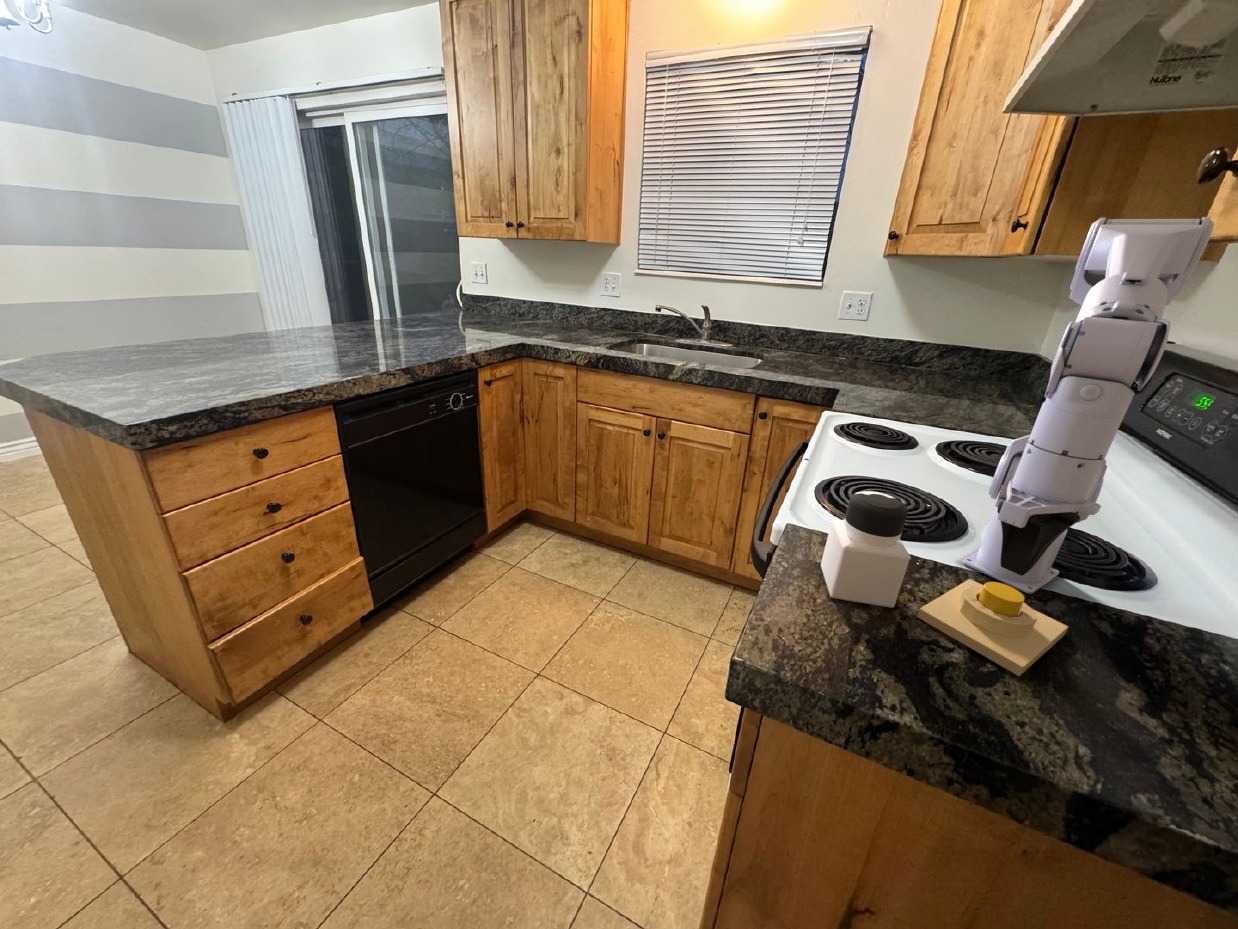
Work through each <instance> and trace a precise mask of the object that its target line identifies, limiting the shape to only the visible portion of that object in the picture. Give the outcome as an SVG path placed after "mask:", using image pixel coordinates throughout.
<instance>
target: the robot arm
mask: <svg viewBox="0 0 1238 929" xmlns="http://www.w3.org/2000/svg"><path fill="white" fill-rule="evenodd" d="M1214 227H1215V222H1213V220H1212V218H1211V217H1210V216H1202V217H1201V218H1108V219H1107V217H1099V218H1098V219H1097V220H1096V221H1094V222H1093V223H1092V224H1091V226H1090V228H1089V230H1088V233H1087V234H1086V235H1087V236H1086V238H1085V241H1084V244H1083V246H1082V249H1081V251H1080V254H1079V257H1078V260H1077V262H1076V266H1075V269H1074V270H1075V272H1074V276H1073V279H1072V280H1071V284H1070V285H1069V289H1070V290H1071V291H1070V295H1069V299H1070V300H1072V301H1073V302H1075V303H1077V304H1078V305H1080V306H1081V307H1080V310H1079V312H1078V314H1077V317H1076V319H1075V321H1073V320H1071V321H1070V322H1069V323H1068V325H1067V326H1066V328H1065V331H1064V333H1063V336H1062V338H1061V340H1060V343H1059V345H1058V348H1057V351H1056V354H1055V356H1054V359H1053V361H1052V363H1051V367H1050V375H1049V380H1048V384H1047V387H1046V390H1045V393H1044V396H1043V397H1045V401H1043V402H1042V404H1041V407H1040V409H1039V411H1038V415H1037V417H1036V420H1035V422H1034V425H1033V427H1032V429H1031V433H1030V434H1028V435H1024V436H1022V437H1018V438H1015V439H1013V440H1012V441H1011V443H1008V444H1007V446H1006V449H1005V451H1004V454H1002V456H1001V458H1000V460H999V462H998V465H997V466H996V470H995V472H994V475H993V477H992V480H991V483H990V486H989V488H988V492H987V493H988V494H989V496H990V498H991V499H992V500H996V501H995V504H994V506H995V508H994V510H993V513H992V515H991V518H990V520H989V524H988V526H987V528H986V531H985V534H984V536H983V538H982V541H981V544H980V545H979V549H978V551H977V552H974V553H973V554H971V555H969V556H967V557H965V558H964V559H962V564H964V565H965V566H967V567H969V568H972V569H973V570H976V571H978V572H980V573H981V574H984V575H987V576H988V577H991V578H993V579H995V580H998V581H1000V583H1003V584H1005V585H1008V586H1010V587H1012V588H1014V589H1016V590H1018V591H1021V592H1023V593H1025V594H1027V595H1032V594H1034V593H1036V592H1037V591H1038V590H1039V589H1041V588H1042V587H1044V586H1045V585H1046V584H1048V583H1049V582H1050V581H1052V580H1053V579H1055V578H1056V577H1058V575H1060V570H1058V569H1056V568H1053V564H1054V561H1055V559H1056V557H1057V555H1058V554H1059V551H1060V549H1061V547H1062V544H1063V542H1064V540H1065V538H1066V536H1067V533H1068V529H1070V528H1071V527H1072V526H1074V525H1075V524H1077V523H1080V522H1083V521H1085V520H1087V519H1088V518H1089V517H1090V516H1095V515H1096V514H1098V513H1099V512H1100V510H1101V508H1102V505H1101V504H1100V503H1097V500H1098V498H1099V496H1100V494H1101V491H1102V488H1103V484H1104V477H1105V474H1106V471H1107V469H1108V465H1107V460H1106V457H1107V455H1108V452H1109V450H1110V448H1111V446H1112V443H1113V441H1114V439H1115V437H1116V434H1117V433H1118V430H1119V428H1120V426H1121V424H1122V422H1123V420H1124V418H1125V415H1126V413H1127V411H1128V408H1129V407H1130V404H1131V402H1132V400H1133V398H1134V396H1135V394H1136V392H1135V391H1134V390H1133V389H1132V385H1133V384H1134V382H1135V383H1136V384H1137V388H1136V389H1137V391H1141V390H1142V389H1143V388H1144V386H1145V385H1146V384H1147V383H1148V381H1149V380H1150V379H1151V378H1152V376H1153V374H1154V373H1155V371H1156V369H1157V367H1158V365H1159V363H1160V361H1161V358H1162V357H1163V354H1164V352H1165V349H1166V346H1167V344H1168V340H1169V335H1170V327H1171V321H1170V320H1168V319H1166V318H1163V316H1164V312H1165V308H1166V307H1167V306H1170V304H1171V303H1172V301H1173V300H1174V297H1177V296H1178V295H1179V294H1180V293H1181V290H1182V289H1183V288H1184V285H1185V283H1186V282H1187V280H1188V279H1189V277H1190V275H1192V273H1193V272H1194V270H1195V269H1196V267H1197V265H1198V264H1199V261H1200V260H1201V258H1202V256H1203V254H1204V252H1205V250H1206V247H1207V245H1208V244H1209V241H1210V238H1211V235H1212V233H1213V231H1214ZM1073 323H1074V324H1073Z"/></svg>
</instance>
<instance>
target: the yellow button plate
mask: <svg viewBox="0 0 1238 929" xmlns="http://www.w3.org/2000/svg"><path fill="white" fill-rule="evenodd" d="M983 587H984V584H981V583H979V582H977V581H976V580H973V579H971V578H969V579H967V580H966V581H963V582H962V583H960V584H959V585H957V586H956V587H953V588H952V589H950V590H948V591H947V592H945V593H944V594H942V595H939V597H937V598H935V599H933V600H931V601H930V602H928V603H927V604H925V605H923V606H922V607H920V608H918V613H917V615H916V618H917V619H920V620H922V621H923V622H924V623H926V624H928V625H930V626H931V627H933V628H935V629H937V630H939V631H940V632H942V633H944V634H946V635H948V636H949V637H950V638H952V639H953V640H956V641H958V642H959V643H961V644H963V645H964V646H966V647H968V648H969V649H970V650H973V651H975V652H976V653H978V654H979V655H982V656H983V657H985V658H986V659H989V660H990V661H992V662H994V663H995V664H997V665H999V666H1001V667H1002V668H1004V669H1006V670H1007V671H1009V672H1011V673H1012V674H1015V676H1018V677H1020V676H1021V675H1023V673H1025V672H1026V671H1027V670H1028V669H1029V668H1031V666H1032V665H1033V664H1035V663H1036V662H1037V661H1038V660H1039V659H1040V658H1041V657H1042V656H1044V655H1045V654H1046V653H1047V652H1048V651H1049V650H1050V649H1051V648H1053V647H1054V645H1056V643H1058V641H1060V640H1061V639H1062V638H1063V637H1064V636H1065V635H1066V634H1067V631H1068V630H1069V626H1068V625H1066V624H1064V623H1062V622H1061V621H1058V620H1056V619H1054V618H1052V617H1049V616H1048V615H1046V614H1044V613H1042V612H1040V611H1038V610H1035V609H1034V608H1032V607H1030V606H1029V605H1028V604H1027V603H1026V602H1025V601H1024V602H1023V605H1022V607H1021V609H1020V611H1019V614H1018V615H1017V616H1016V617H1008V616H1005V615H1001V614H998V613H995V612H993V611H991V610H989V609H987V608H985V607H984V606H983V605H982V604H981V603H979V600H978V599H979V597H980V594H981V592H982V589H983Z"/></svg>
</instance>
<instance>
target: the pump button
mask: <svg viewBox="0 0 1238 929" xmlns="http://www.w3.org/2000/svg"><path fill="white" fill-rule="evenodd" d="M983 585H984V587H983V589H982V592H981V594H980V597H979V599H978V600H979V603H981V604H982V605H983V606H984V607H985V608H987V609H989V610H991V611H993V612H995V613H998V614H1001V615H1005V616H1008V617H1016V616H1017V615H1018V614H1019V611H1020V609H1021V607H1022V605H1023V602H1024V603H1025V598H1026V597H1025V596H1024V594H1023V593H1021V592H1020V590H1019V589H1016V588H1014V587H1012V586H1010V585H1008V584H1006V583H1003V582H997V581H988V582H987V581H986V582H985V583H984V584H983Z"/></svg>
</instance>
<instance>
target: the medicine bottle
mask: <svg viewBox="0 0 1238 929" xmlns="http://www.w3.org/2000/svg"><path fill="white" fill-rule="evenodd" d="M908 514H909V509H908V508H907V506H906V505H905V503H904V502H902V501H900V500H899V499H897V498H896V497H894V496H892V495H890V494H886V493H884V492H879V491H870V490H869V491H868V490H867V491H865V490H864V491H857V492H855V493H853V494H851V495H850V497H849V501H848V504H847V509H846V512H845V516H844V519H840V518H833V519H832V520H831V521H830V527H829V531H828V533H827V534H828V535H827V539H826V543H825V546H824V549H823V554H822V558H821V562H820V568H821V571H822V575H823V578H824V581H825V585H826V587H827V591H828V595H829V597H830V598H831V599H834V600H841V601H847V602H851V603H859V604H864V605H865V604H866V605H872V606H878V607H883V608H890V609H893V608H895V607H896V604H897V601H898V597H899V595H900V592H901V589H902V586H903V582H904V579H905V577H906V574H907V571H908V568H909V564H910V563H911V562H910V561H911V559H912V558H911V555H910V553H909V552H908V550H907V549H906V547H905V545H904V544H903V542H902V541H901V537H902V533H903V530H904V527H905V523H906V520H907V517H908Z"/></svg>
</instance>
